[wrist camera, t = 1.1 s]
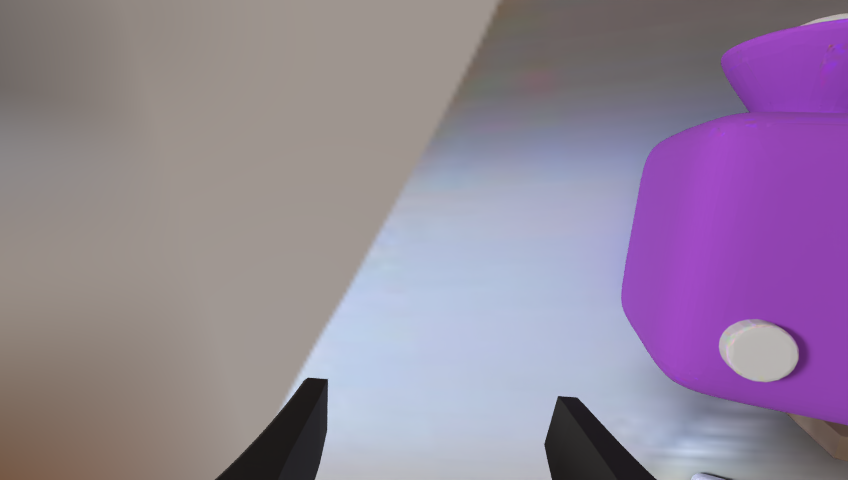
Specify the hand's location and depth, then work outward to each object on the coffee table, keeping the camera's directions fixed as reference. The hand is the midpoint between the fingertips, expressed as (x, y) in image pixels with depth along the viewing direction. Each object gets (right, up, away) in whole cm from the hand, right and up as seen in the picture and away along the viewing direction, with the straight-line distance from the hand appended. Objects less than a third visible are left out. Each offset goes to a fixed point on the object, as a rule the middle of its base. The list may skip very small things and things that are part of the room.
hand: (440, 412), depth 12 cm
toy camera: (+15, +7, +7) cm, 18 cm away
